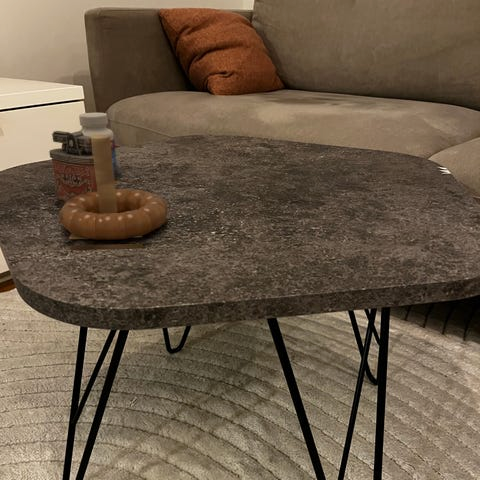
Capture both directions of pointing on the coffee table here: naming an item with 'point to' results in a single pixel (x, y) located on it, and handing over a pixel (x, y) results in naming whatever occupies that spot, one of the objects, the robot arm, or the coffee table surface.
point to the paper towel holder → (104, 189)
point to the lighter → (73, 165)
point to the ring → (114, 215)
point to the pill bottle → (98, 130)
